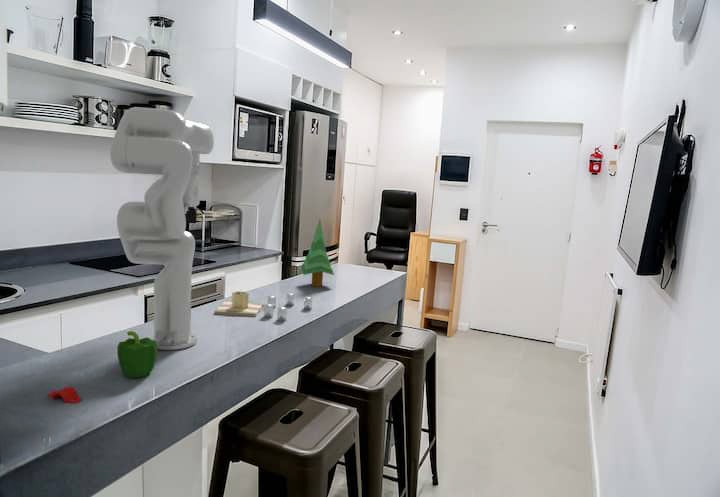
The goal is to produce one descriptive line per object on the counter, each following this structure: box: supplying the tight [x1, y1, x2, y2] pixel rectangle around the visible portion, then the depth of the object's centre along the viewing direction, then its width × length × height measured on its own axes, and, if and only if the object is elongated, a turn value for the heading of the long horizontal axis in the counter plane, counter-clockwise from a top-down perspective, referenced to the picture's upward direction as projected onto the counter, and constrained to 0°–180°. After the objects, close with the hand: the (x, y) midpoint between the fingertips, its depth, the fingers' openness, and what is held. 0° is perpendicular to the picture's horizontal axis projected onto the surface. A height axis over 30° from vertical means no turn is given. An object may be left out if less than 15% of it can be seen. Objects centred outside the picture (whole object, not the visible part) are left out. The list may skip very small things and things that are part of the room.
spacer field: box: [263, 292, 313, 322], centre depth 177 cm, size 23×16×4 cm
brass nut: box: [231, 291, 250, 309], centre depth 176 cm, size 5×6×5 cm
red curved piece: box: [47, 385, 82, 404], centre depth 104 cm, size 8×3×2 cm, turn 69°
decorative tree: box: [300, 218, 335, 288], centre depth 220 cm, size 14×16×30 cm
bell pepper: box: [117, 330, 158, 379], centre depth 117 cm, size 8×8×10 cm
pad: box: [213, 300, 265, 317], centre depth 176 cm, size 14×14×1 cm
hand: (186, 224), depth 160 cm, fingers open, 9 cm apart
